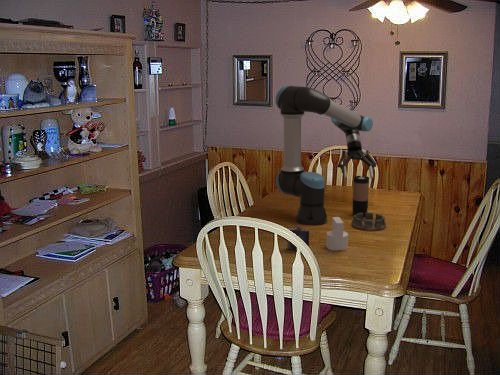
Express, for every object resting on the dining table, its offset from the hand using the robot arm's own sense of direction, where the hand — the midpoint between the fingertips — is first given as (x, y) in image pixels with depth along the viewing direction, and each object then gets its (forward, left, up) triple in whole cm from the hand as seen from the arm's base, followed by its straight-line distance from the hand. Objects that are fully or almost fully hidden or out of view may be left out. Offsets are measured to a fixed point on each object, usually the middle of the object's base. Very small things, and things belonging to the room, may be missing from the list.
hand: (358, 178), depth 283 cm
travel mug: (-5, -7, -18) cm, 20 cm away
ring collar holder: (-13, -22, -18) cm, 31 cm away
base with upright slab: (-45, -37, -18) cm, 61 cm away
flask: (-61, -31, -18) cm, 71 cm away
